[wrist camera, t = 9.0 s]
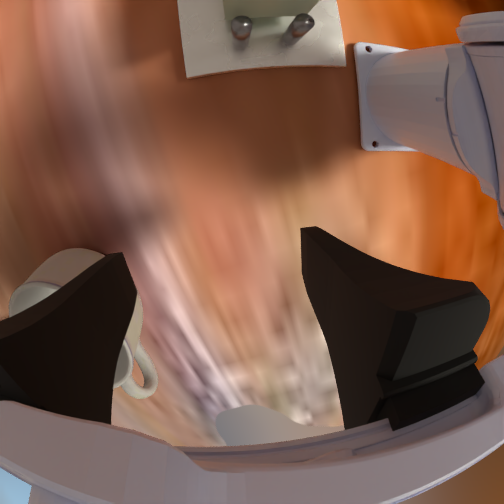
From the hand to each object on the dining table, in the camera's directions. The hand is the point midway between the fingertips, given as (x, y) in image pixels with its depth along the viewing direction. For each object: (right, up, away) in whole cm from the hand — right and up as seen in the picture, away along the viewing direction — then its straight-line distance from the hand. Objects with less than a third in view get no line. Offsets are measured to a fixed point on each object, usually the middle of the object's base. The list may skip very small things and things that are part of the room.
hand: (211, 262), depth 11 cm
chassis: (+1, +20, 0) cm, 20 cm away
